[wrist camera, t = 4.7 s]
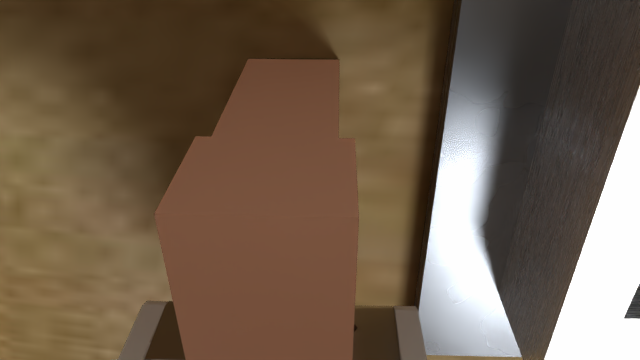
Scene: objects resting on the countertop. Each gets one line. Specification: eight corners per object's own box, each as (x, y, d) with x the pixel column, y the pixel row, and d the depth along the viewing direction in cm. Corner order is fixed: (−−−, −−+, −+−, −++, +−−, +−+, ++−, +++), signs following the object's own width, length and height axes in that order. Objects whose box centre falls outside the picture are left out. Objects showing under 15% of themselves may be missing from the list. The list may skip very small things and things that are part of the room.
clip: (343, 306, 18) (344, 523, 12) (259, 304, 18) (220, 518, 12) (350, 60, 13) (359, 217, 7) (236, 59, 13) (153, 214, 7)
